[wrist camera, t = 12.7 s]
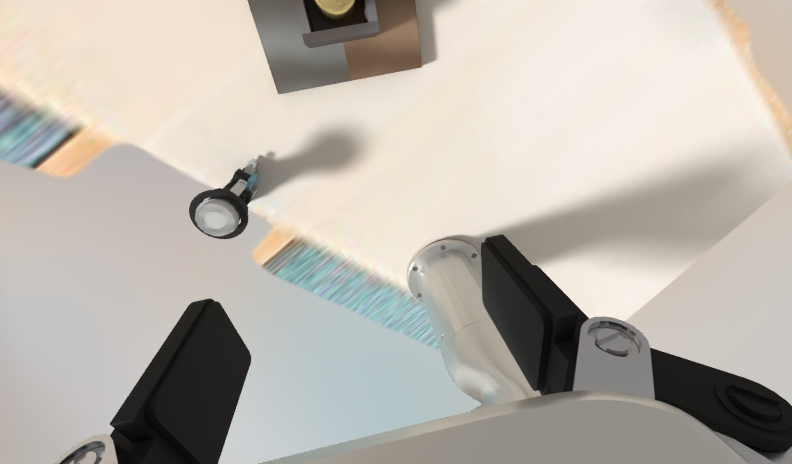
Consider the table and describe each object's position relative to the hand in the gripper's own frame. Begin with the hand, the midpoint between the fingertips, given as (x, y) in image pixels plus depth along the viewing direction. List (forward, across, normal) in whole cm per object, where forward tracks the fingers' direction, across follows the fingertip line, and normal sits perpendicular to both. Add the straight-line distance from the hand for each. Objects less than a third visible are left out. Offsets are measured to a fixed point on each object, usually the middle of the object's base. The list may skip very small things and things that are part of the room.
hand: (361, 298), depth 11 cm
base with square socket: (+30, -2, -13) cm, 33 cm away
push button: (+31, +14, +3) cm, 34 cm away
